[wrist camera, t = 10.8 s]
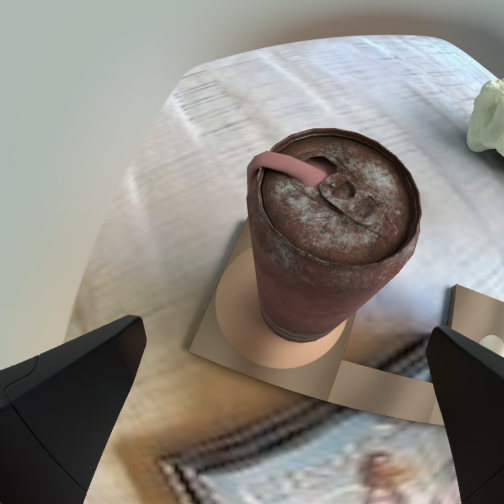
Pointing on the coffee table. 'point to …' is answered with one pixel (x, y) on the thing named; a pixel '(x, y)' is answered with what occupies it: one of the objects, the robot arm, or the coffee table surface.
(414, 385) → the socket board
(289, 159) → the can
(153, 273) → the coffee table surface
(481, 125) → the wavy plaster lump
